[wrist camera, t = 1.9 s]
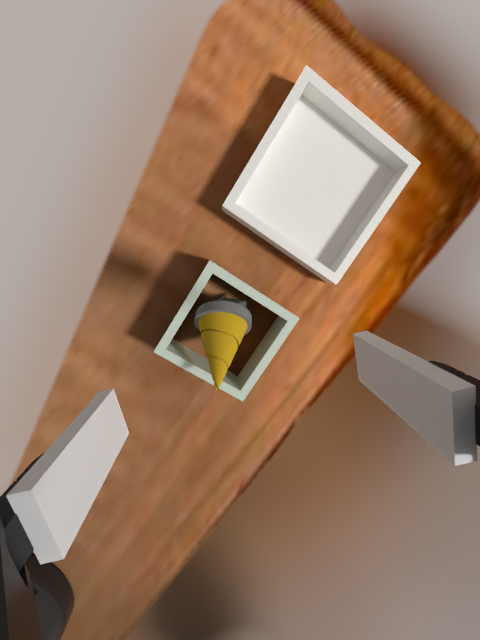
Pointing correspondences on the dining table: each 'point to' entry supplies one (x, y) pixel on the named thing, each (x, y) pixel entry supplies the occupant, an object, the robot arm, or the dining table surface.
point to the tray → (320, 179)
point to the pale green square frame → (260, 356)
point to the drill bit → (222, 332)
